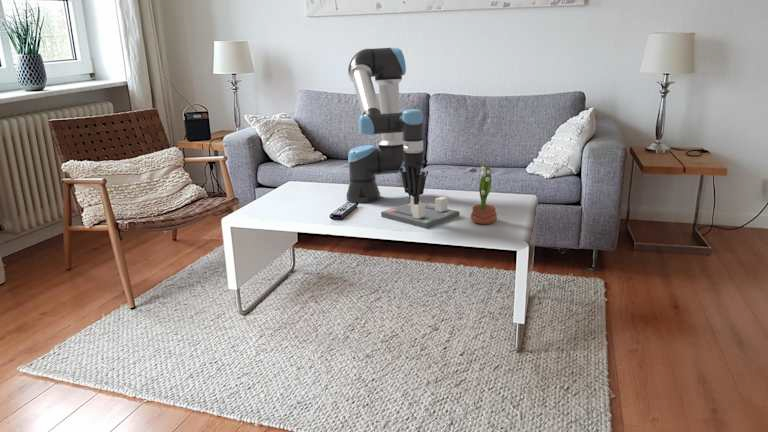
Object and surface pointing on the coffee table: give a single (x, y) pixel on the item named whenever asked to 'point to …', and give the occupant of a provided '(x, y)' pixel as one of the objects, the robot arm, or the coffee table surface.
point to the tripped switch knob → (418, 210)
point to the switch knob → (441, 204)
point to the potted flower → (484, 199)
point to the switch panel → (428, 221)
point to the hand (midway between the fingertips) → (414, 211)
